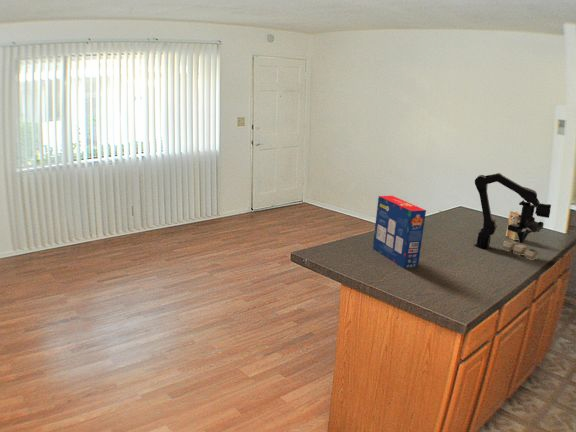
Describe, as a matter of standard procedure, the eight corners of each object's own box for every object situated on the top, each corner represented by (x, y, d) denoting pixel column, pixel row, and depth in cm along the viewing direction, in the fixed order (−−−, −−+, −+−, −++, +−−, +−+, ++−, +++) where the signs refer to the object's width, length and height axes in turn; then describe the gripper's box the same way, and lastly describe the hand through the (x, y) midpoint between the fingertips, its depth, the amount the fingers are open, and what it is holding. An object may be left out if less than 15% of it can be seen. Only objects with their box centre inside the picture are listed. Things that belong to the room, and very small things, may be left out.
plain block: (519, 256, 267) (521, 248, 266) (512, 253, 271) (514, 245, 270) (525, 255, 269) (527, 247, 268) (518, 252, 273) (520, 244, 272)
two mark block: (509, 251, 273) (510, 243, 272) (502, 248, 277) (503, 240, 276) (514, 250, 275) (516, 242, 274) (508, 248, 279) (509, 240, 278)
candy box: (520, 241, 292) (525, 215, 288) (513, 241, 292) (518, 215, 288) (511, 236, 301) (516, 211, 297) (504, 236, 300) (509, 211, 296)
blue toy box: (417, 267, 242) (426, 210, 234) (403, 268, 239) (411, 211, 231) (385, 247, 267) (392, 195, 259) (372, 248, 264) (378, 196, 256)
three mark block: (531, 260, 261) (533, 252, 260) (523, 257, 265) (525, 249, 264) (537, 259, 263) (539, 251, 262) (529, 256, 267) (531, 248, 266)
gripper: (527, 219, 253) (521, 249, 257) (552, 217, 261) (546, 246, 266) (509, 213, 263) (504, 242, 267) (534, 211, 271) (528, 239, 275)
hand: (521, 242), depth 268 cm, fingers closed
